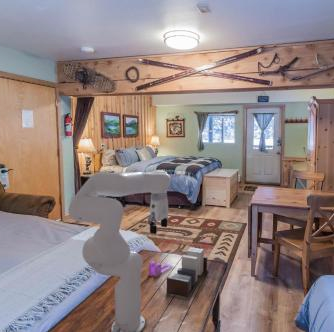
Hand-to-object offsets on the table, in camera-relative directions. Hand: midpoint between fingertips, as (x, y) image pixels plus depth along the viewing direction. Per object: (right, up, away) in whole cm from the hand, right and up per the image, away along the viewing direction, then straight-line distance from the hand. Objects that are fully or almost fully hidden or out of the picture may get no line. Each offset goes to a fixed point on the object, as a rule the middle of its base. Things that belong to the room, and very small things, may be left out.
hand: (158, 230), depth 133 cm
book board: (+13, -30, +8) cm, 33 cm away
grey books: (+11, -29, +1) cm, 31 cm away
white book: (+14, -28, +8) cm, 33 cm away
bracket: (-4, -28, +18) cm, 33 cm away
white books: (+15, -27, +17) cm, 35 cm away
